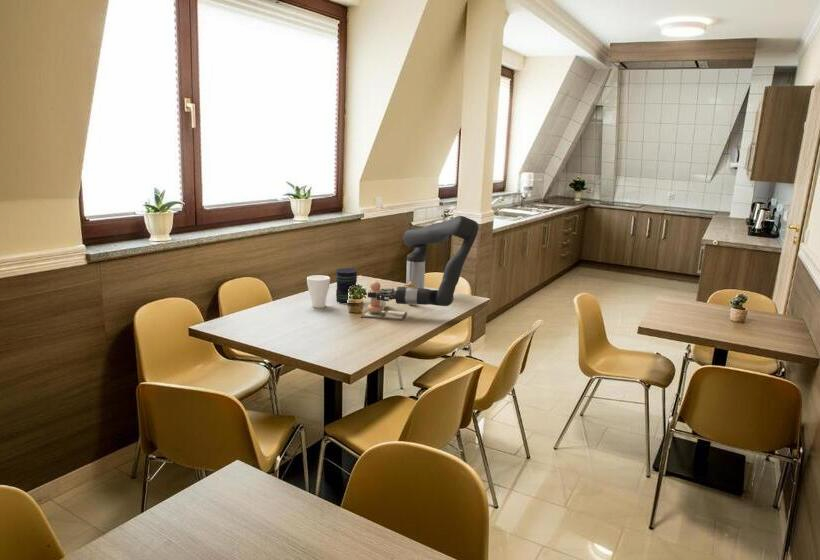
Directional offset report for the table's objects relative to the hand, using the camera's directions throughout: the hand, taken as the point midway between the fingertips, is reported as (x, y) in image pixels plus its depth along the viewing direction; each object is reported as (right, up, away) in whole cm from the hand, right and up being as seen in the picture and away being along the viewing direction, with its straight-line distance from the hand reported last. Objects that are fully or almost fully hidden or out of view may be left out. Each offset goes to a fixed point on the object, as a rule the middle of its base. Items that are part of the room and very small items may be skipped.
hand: (369, 293), depth 261 cm
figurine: (+18, -6, +18) cm, 26 cm away
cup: (-24, -6, +13) cm, 28 cm away
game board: (+6, -10, +1) cm, 12 cm away
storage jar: (-12, -4, +23) cm, 26 cm away
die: (+3, -7, +14) cm, 15 cm away
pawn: (+3, -7, +1) cm, 8 cm away
